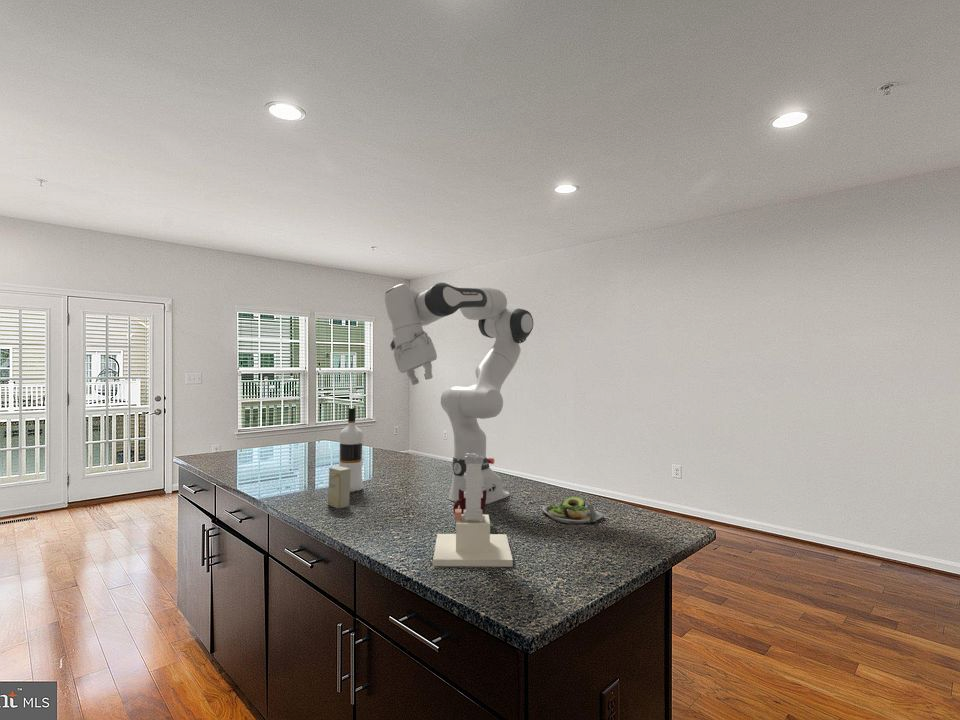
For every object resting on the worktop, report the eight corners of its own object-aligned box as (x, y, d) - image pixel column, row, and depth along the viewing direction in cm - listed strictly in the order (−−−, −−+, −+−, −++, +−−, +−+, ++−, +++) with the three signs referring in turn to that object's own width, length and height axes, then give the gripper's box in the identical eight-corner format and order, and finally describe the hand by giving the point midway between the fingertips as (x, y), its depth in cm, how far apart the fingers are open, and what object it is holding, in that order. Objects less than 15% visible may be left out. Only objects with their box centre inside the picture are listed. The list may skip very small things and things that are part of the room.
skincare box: (327, 505, 163) (328, 467, 164) (339, 502, 167) (339, 465, 167) (338, 509, 159) (339, 470, 160) (350, 506, 163) (351, 468, 163)
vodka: (347, 494, 179) (349, 408, 179) (331, 489, 184) (333, 407, 185) (368, 489, 186) (370, 407, 186) (352, 485, 192) (354, 406, 192)
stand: (437, 539, 132) (438, 501, 132) (506, 540, 132) (506, 501, 133) (432, 566, 114) (433, 521, 114) (512, 566, 115) (513, 522, 115)
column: (462, 547, 126) (464, 453, 127) (481, 547, 127) (482, 453, 127) (462, 556, 120) (464, 457, 121) (482, 557, 120) (483, 457, 121)
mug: (466, 531, 139) (466, 494, 139) (446, 524, 145) (446, 489, 145) (491, 523, 147) (492, 488, 147) (471, 517, 152) (472, 484, 153)
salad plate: (618, 525, 149) (619, 509, 149) (563, 529, 143) (563, 513, 143) (586, 507, 167) (586, 493, 167) (536, 511, 162) (536, 496, 162)
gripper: (434, 326, 145) (447, 373, 144) (405, 343, 162) (417, 384, 161) (415, 330, 141) (428, 378, 141) (387, 346, 158) (399, 389, 158)
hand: (422, 381), depth 151 cm, fingers open, 8 cm apart
